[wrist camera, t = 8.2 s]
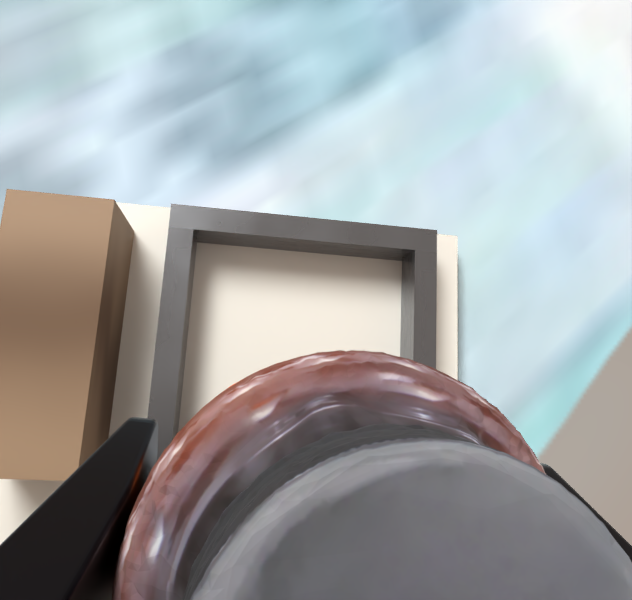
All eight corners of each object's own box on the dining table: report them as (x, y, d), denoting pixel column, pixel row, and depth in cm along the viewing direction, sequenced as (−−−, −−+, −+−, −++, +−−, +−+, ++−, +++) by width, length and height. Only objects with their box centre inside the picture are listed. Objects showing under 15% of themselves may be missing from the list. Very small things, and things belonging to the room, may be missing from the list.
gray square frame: (419, 495, 18) (434, 504, 17) (147, 487, 17) (138, 495, 15) (422, 242, 20) (437, 230, 18) (176, 219, 19) (171, 203, 17)
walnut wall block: (105, 466, 17) (76, 481, 14) (6, 463, 16) (-45, 477, 14) (134, 231, 18) (114, 199, 15) (44, 222, 18) (6, 189, 15)
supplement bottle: (425, 427, 15) (889, 509, 4) (343, 630, 14) (710, 1467, 3) (245, 338, 15) (258, 191, 4) (143, 538, 14) (-233, 1103, 3)
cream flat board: (445, 785, 17) (457, 808, 16) (-72, 809, 15) (-93, 837, 14) (447, 243, 21) (457, 236, 20) (30, 203, 19) (18, 192, 18)
